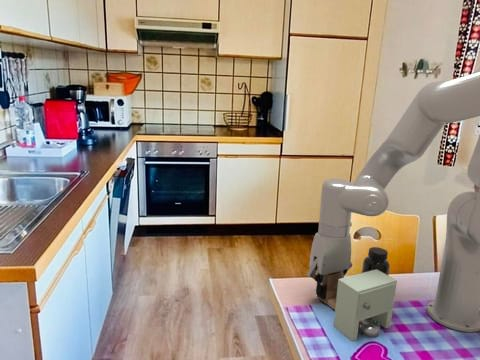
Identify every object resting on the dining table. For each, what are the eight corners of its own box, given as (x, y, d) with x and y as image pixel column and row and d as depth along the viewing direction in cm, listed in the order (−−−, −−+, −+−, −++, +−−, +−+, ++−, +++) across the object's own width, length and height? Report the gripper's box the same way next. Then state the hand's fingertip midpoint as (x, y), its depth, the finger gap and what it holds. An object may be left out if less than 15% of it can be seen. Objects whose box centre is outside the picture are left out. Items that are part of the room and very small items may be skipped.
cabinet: (370, 313, 97) (376, 269, 94) (394, 329, 90) (401, 282, 88) (333, 326, 91) (338, 279, 88) (355, 344, 85) (361, 294, 82)
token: (368, 324, 92) (369, 317, 92) (383, 335, 88) (384, 327, 88) (354, 329, 90) (355, 321, 90) (368, 340, 86) (370, 332, 86)
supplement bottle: (364, 297, 104) (369, 255, 101) (356, 284, 111) (361, 245, 108) (390, 297, 104) (395, 256, 102) (380, 284, 111) (385, 245, 108)
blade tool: (328, 293, 104) (331, 266, 103) (368, 322, 92) (372, 292, 90) (316, 296, 103) (318, 268, 101) (356, 327, 90) (359, 295, 88)
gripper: (349, 219, 104) (342, 281, 109) (297, 228, 97) (293, 295, 101) (369, 228, 98) (362, 294, 102) (316, 239, 90) (310, 309, 95)
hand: (327, 294), depth 102 cm, fingers closed on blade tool, 4 cm apart
